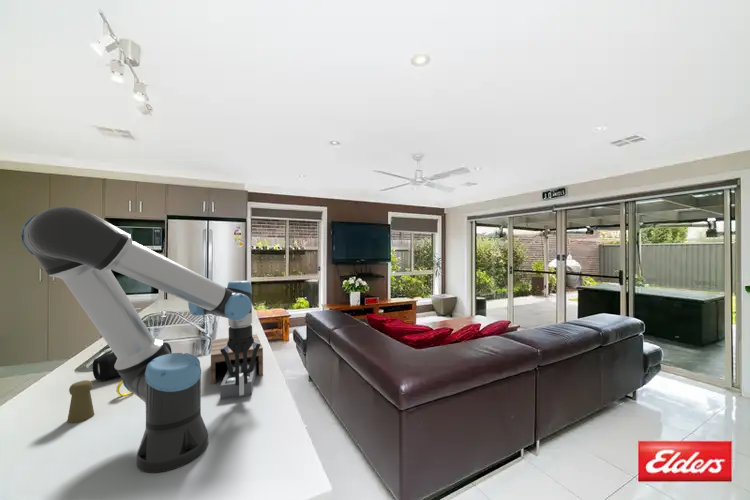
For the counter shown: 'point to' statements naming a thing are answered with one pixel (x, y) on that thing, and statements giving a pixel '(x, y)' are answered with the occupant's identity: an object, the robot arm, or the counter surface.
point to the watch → (119, 392)
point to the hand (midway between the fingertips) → (241, 393)
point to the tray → (230, 388)
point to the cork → (80, 402)
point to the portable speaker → (108, 366)
